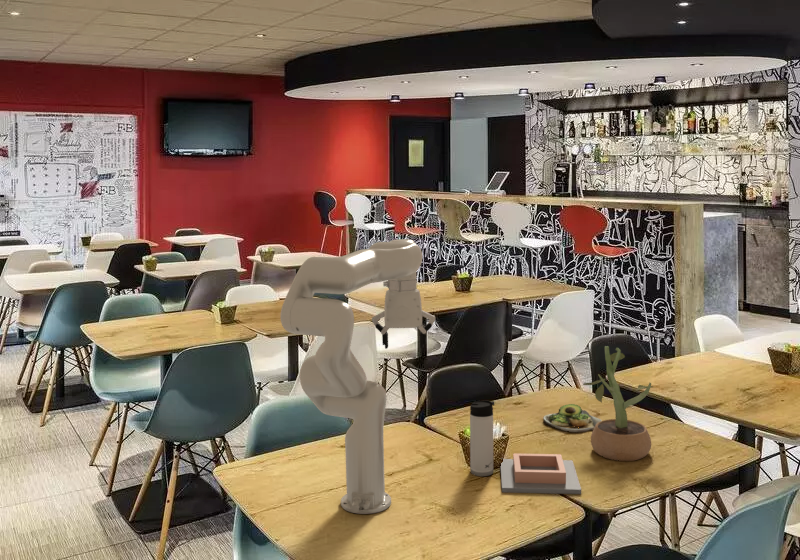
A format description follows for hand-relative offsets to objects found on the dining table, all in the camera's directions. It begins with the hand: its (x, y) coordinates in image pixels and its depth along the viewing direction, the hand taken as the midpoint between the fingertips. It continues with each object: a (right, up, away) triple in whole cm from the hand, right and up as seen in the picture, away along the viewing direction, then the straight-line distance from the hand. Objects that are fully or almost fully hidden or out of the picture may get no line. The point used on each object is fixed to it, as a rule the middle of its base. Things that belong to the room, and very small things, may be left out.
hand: (404, 347), depth 213 cm
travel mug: (+21, -35, +1) cm, 41 cm away
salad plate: (+55, -29, +40) cm, 74 cm away
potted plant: (+62, -32, +17) cm, 72 cm away
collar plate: (+36, -35, -3) cm, 50 cm away
